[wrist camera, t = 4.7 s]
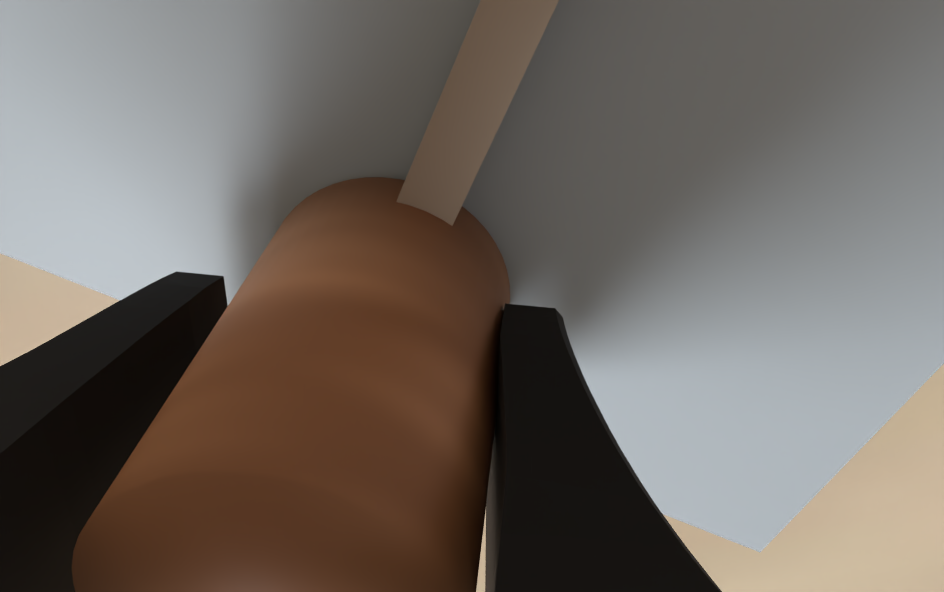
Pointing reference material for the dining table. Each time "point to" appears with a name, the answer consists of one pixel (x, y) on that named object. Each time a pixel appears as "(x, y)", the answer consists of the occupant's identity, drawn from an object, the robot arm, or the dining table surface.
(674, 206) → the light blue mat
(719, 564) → the dining table surface
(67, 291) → the dining table surface
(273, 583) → the brown block on rod
